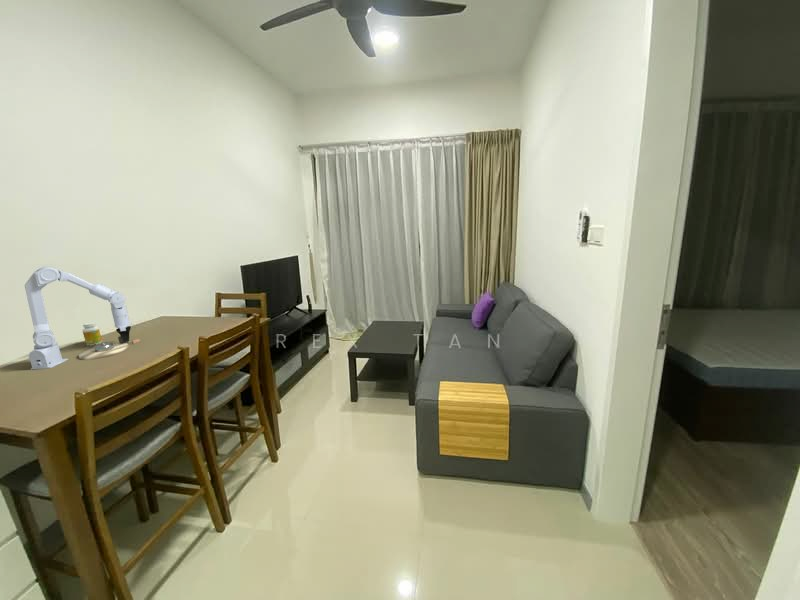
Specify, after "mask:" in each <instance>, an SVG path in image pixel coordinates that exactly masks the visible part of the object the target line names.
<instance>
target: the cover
mask: <svg viewBox="0 0 800 600" xmlns="http://www.w3.org/2000/svg"><path fill="white" fill-rule="evenodd" d="M113 343H114V342H113V341H106V342H102V343H100V344H96V345H93V347H94V350H95V352H103V351H108V350H111V349H113V348H114V345H113Z"/></svg>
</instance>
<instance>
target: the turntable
mask: <svg viewBox="0 0 800 600" xmlns="http://www.w3.org/2000/svg"><path fill="white" fill-rule="evenodd" d="M117 340H118V342H113V345H114V348H113V349H111V350H108V351H103V352H95V350H94V346H93V347H90V348H88V349H85V350H83V351H81V352H79V353H78V358H79V359H80V360H85V361H86V360H98V359H105V358H107V357H108V358H109V357H111V356H115V355H118V354H120V353H123V352H126V351H127V350H128V349H129V344H130V343H129V341H127V342H124V341H123V339H122V337H121V336H120V335H118V336H117Z"/></svg>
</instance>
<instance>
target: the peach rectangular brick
mask: <svg viewBox="0 0 800 600" xmlns="http://www.w3.org/2000/svg"><path fill="white" fill-rule="evenodd" d="M139 341H140V338H137V339H133V340H131V343H132V344H136V342H137V343H140V342H141V341H140V342H139Z"/></svg>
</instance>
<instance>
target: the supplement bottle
mask: <svg viewBox="0 0 800 600" xmlns="http://www.w3.org/2000/svg"><path fill="white" fill-rule="evenodd" d="M96 325H97V324H96V322H94V321H92V322H86V323H83V324H82V326H83V329H82V335H83V338H84V341H85V345H86V346H88V345H90V346H95V345H94V344H96V345H97V344H98V343H101V342H102V343H103V339H102V336H101V332H100V328H99V327H98V326H96Z"/></svg>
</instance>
